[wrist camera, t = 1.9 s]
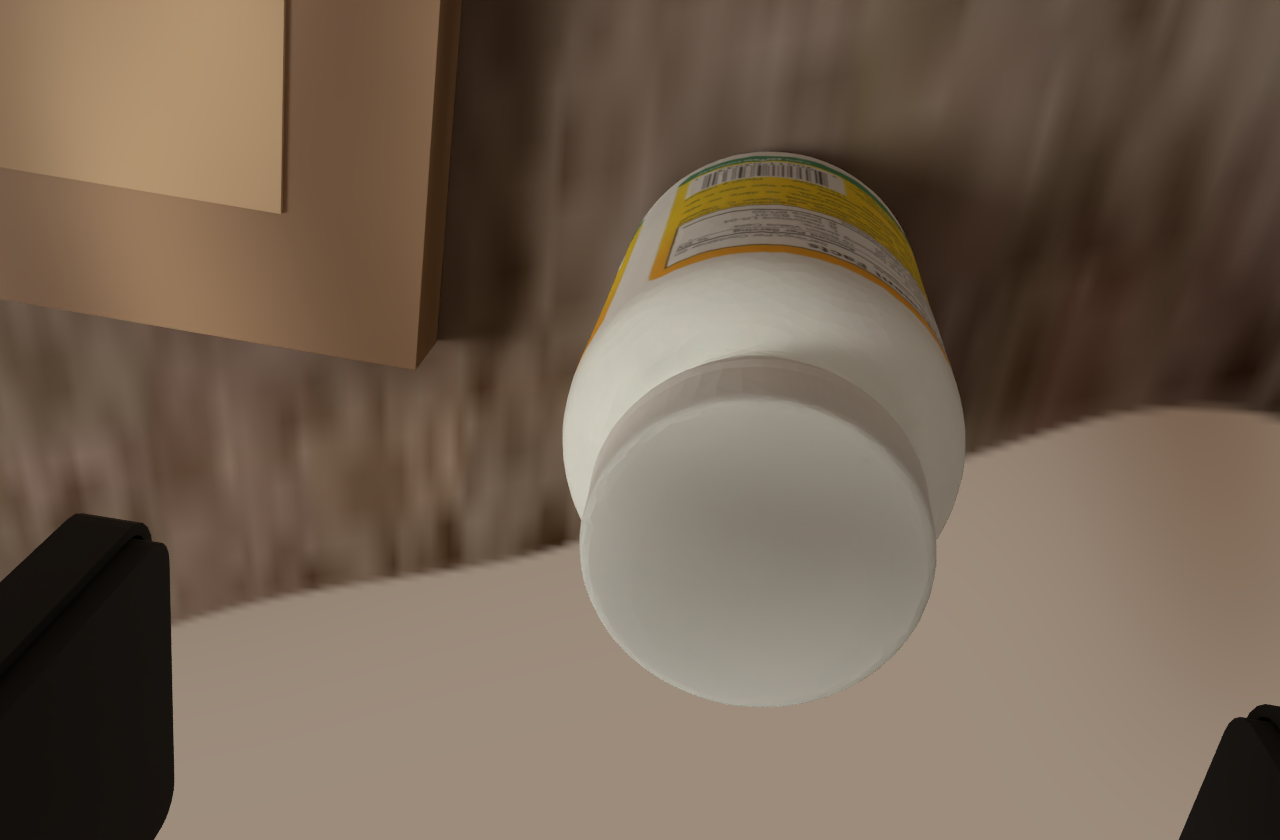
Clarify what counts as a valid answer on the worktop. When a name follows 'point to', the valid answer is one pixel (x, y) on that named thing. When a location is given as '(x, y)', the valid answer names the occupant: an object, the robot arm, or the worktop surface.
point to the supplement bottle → (764, 436)
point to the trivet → (232, 166)
